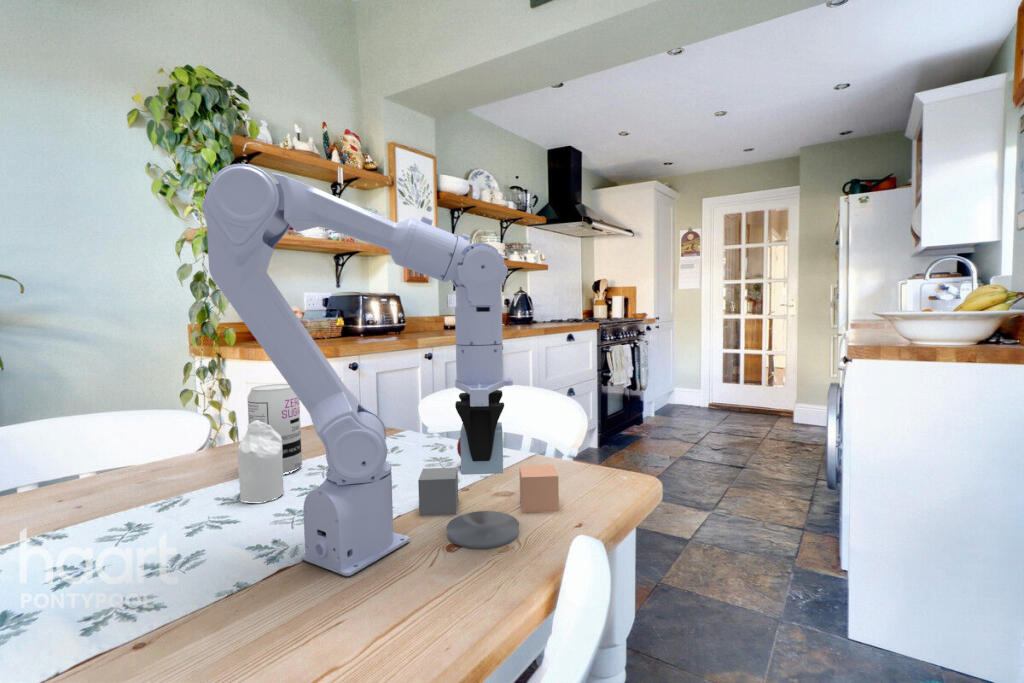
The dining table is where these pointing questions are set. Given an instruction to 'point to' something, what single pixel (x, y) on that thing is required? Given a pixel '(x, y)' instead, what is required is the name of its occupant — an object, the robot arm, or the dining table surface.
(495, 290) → the robot arm
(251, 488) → the grey crumpled-top cylinder
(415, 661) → the dining table surface
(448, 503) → the charcoal cube
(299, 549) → the dining table surface
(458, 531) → the slate coaster
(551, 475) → the terracotta cube
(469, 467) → the blue cube
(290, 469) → the white soda can
